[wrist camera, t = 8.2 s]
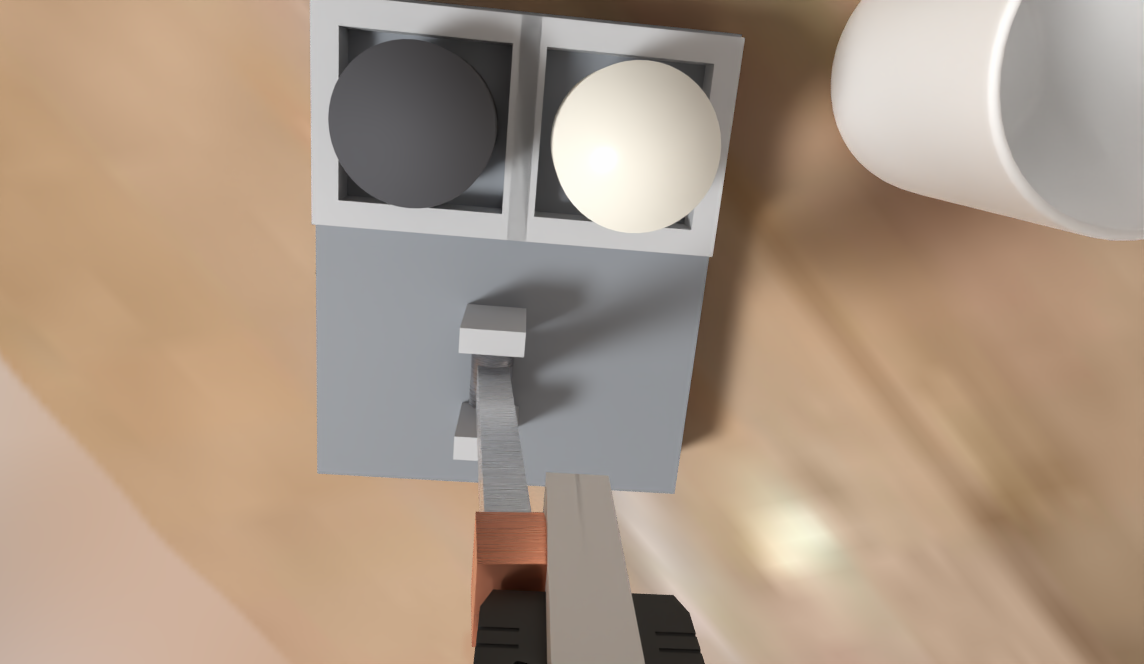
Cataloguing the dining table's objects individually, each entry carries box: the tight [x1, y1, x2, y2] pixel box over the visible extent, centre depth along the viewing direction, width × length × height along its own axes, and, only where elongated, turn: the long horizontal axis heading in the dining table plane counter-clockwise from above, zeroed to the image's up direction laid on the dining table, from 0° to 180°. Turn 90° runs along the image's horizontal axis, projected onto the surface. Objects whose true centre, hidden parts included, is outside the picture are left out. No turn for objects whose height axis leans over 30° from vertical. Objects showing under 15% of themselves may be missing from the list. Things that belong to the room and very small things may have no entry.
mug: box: [831, 0, 1144, 241], centre depth 22 cm, size 12×8×10 cm
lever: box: [469, 354, 547, 647], centre depth 20 cm, size 2×1×13 cm
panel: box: [310, 0, 745, 494], centre depth 25 cm, size 16×13×6 cm
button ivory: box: [551, 60, 721, 233], centre depth 21 cm, size 4×4×3 cm
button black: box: [328, 39, 498, 208], centre depth 22 cm, size 4×4×3 cm
